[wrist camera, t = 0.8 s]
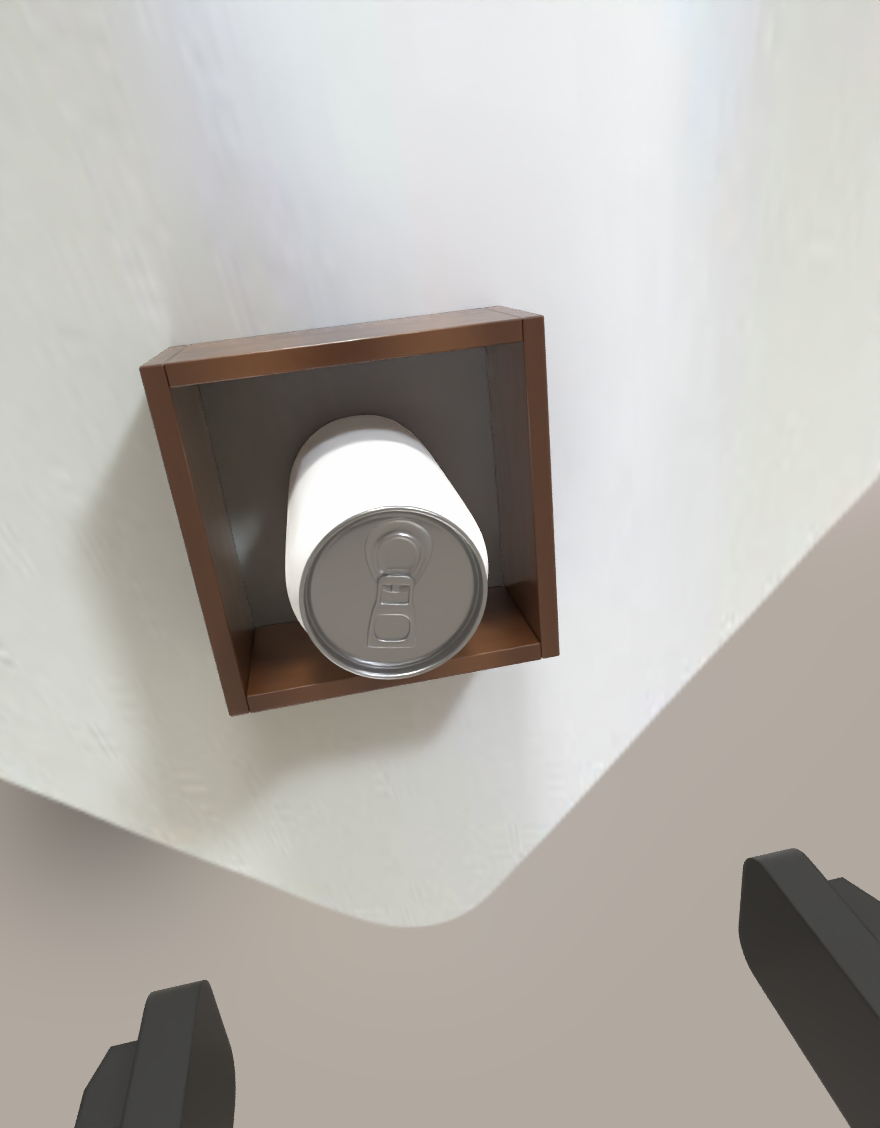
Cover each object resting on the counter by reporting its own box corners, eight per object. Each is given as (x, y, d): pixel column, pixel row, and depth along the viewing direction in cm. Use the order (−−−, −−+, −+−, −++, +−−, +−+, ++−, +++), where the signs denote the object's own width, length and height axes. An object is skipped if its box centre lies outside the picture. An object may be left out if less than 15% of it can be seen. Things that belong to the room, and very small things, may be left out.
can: (441, 417, 32) (515, 496, 21) (428, 555, 34) (488, 691, 24) (290, 407, 31) (285, 486, 20) (287, 551, 33) (281, 693, 22)
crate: (240, 645, 35) (229, 717, 29) (168, 347, 29) (137, 366, 24) (520, 596, 36) (560, 656, 31) (501, 305, 31) (544, 314, 25)
